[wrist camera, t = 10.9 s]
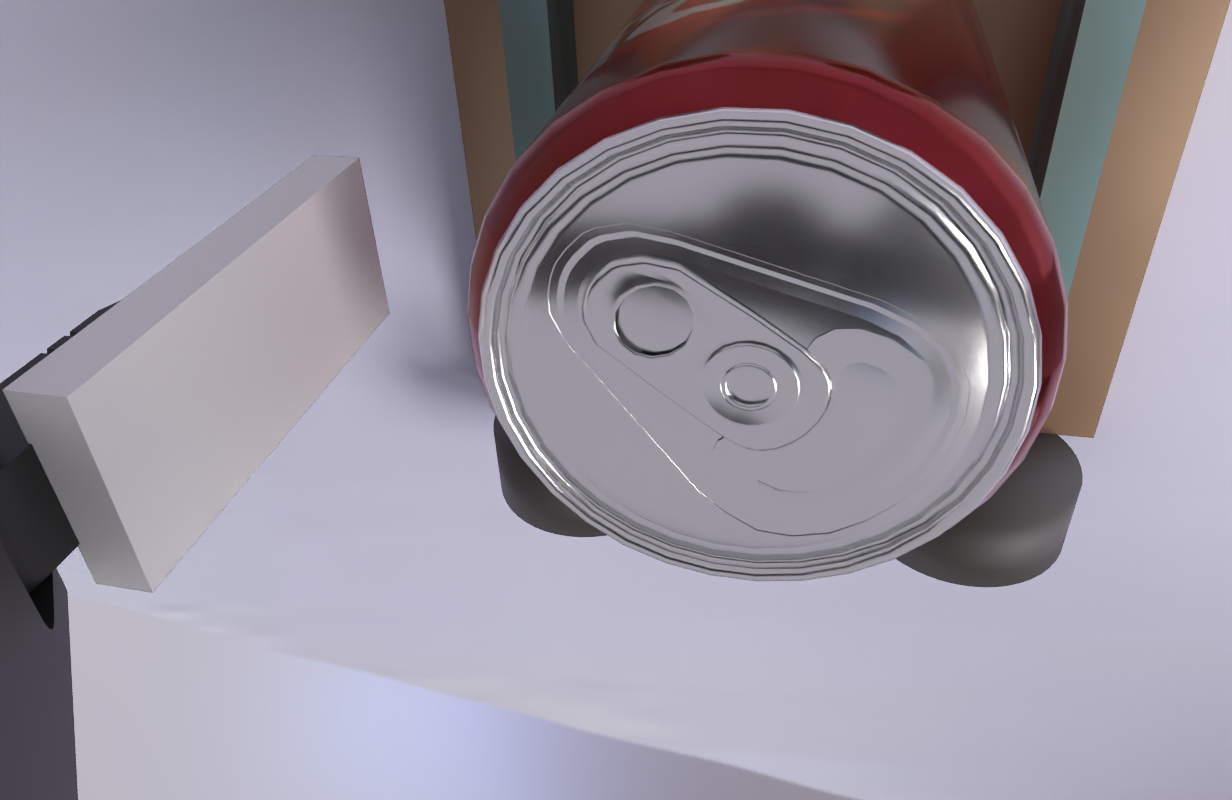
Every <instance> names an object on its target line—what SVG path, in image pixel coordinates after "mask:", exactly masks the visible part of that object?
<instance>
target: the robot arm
mask: <svg viewBox="0 0 1232 800" xmlns="http://www.w3.org/2000/svg"><path fill="white" fill-rule="evenodd" d="M388 314H389V308H388V303H387V298H386V292H385V287H384V282H383V277H382V272H381V267H380V262H379V257H378V252H377V246H376V241H375V236H374V231H373V226H372V221H371V216H370V211H369V206H368V201H367V195H366V190H365V185H364V180H363V175H362V170H361V165H360V160H359V158H357V157H338V156H318V155H314V156H313V157H311V158H310V159H309V160H307V161H306V162H305V163H303V164H302V165H301V166H299V167H298V168H297V169H295V170H294V171H293V172H291V173H290V174H289V175H287V176H286V177H285V178H283V179H282V180H281V181H279V182H278V183H277V184H275V185H274V186H273V187H271V188H270V189H269V190H267V191H266V192H265V193H263V194H262V195H261V196H259V197H258V198H257V199H255V200H254V201H253V202H251V203H250V204H249V205H247V206H246V207H245V208H243V209H242V210H241V211H239V212H238V213H237V214H235V215H234V216H233V217H231V218H230V219H229V220H227V221H226V222H225V223H223V224H222V225H221V226H219V227H218V228H217V229H215V230H214V231H213V232H212V233H210V234H209V235H208V236H206V237H205V238H204V239H202V240H201V241H200V242H198V243H197V244H196V245H194V246H193V247H192V248H190V249H189V250H188V251H186V252H185V253H184V254H182V255H181V256H180V257H178V258H177V259H176V260H174V261H173V262H172V263H170V264H169V265H168V266H166V267H165V268H164V269H162V270H161V271H160V272H158V273H157V274H156V275H154V276H153V277H152V278H150V279H149V280H148V281H146V282H145V283H144V284H142V285H141V286H140V287H138V288H137V289H136V290H134V291H133V292H132V293H130V294H129V295H128V296H126V297H125V298H124V299H122V300H121V301H118V302H116V303H114V304H112V305H110V306H107V307H105V308H103V309H101V310H99V311H97V312H96V313H95V314H93V315H92V316H91V317H89V318H88V319H86V320H85V321H84V322H82V323H81V324H80V325H78V326H77V327H76V328H74V329H73V330H72V331H70V336H64V337H62V338H61V339H60V340H58V341H57V342H56V343H54V344H53V345H51V346H50V347H49V348H47V354H44V353H41V354H39V355H38V356H37V357H35V358H34V359H33V360H31V361H30V362H29V363H27V364H26V365H25V366H23V367H22V368H21V369H19V370H18V371H17V372H15V373H14V374H12V375H11V376H10V377H8V378H7V379H6V380H4V381H3V382H2V383H0V800H78V793H77V775H76V774H77V773H76V754H75V735H74V715H73V696H72V678H71V677H72V676H71V656H70V636H69V616H68V597H67V590H66V587H65V585H64V583H63V581H62V578H61V577H60V575H59V573H58V571H57V569H56V567H57V566H58V565H59V564H60V563H61V562H62V561H63V560H64V559H65V558H66V557H67V556H68V555H69V554H70V553H71V552H72V551H73V550H74V549H75V548H76V547H77V546H78V547H79V549H80V551H81V554H82V556H83V558H84V560H85V562H86V564H87V566H88V568H89V570H90V572H91V574H92V576H93V578H94V580H95V582H96V584H102V585H108V586H115V587H121V588H127V589H133V590H139V591H145V592H152V593H153V592H154V591H155V590H156V588H157V587H158V586H159V585H160V584H161V582H162V581H163V580H164V579H165V578H166V577H167V575H168V574H169V573H170V572H171V571H172V569H173V568H174V567H175V566H176V565H177V564H178V562H179V561H180V560H181V559H182V558H183V556H184V555H185V554H186V553H187V552H188V551H189V549H190V548H191V547H192V546H193V545H194V543H195V542H196V541H197V540H198V539H199V538H200V536H201V535H202V534H203V533H204V532H205V530H206V529H207V528H208V527H209V526H210V525H211V523H212V522H213V521H214V520H215V519H216V517H217V516H218V515H219V514H220V513H221V512H222V510H223V509H224V508H225V507H226V506H227V504H228V503H229V502H230V501H231V500H232V499H233V497H234V496H235V495H236V494H237V493H238V491H239V490H240V489H241V488H242V487H243V486H244V484H245V483H246V482H247V481H248V480H249V478H250V477H251V476H252V475H253V474H254V473H255V471H256V470H257V469H258V468H259V467H260V465H261V464H262V463H263V462H264V461H265V460H266V458H267V457H268V456H269V455H270V454H271V452H272V451H273V450H274V449H275V448H276V447H277V445H278V444H279V443H280V442H281V441H282V440H283V438H284V437H285V436H286V435H287V434H288V432H289V431H290V430H291V429H292V428H293V427H294V425H295V424H296V423H297V422H298V421H299V419H300V418H301V417H302V416H303V415H304V414H305V412H306V411H307V410H308V409H309V408H310V406H311V405H312V404H313V403H314V402H315V401H316V399H317V398H318V397H319V396H320V395H321V393H322V392H323V391H324V390H325V389H326V388H327V386H328V385H329V384H330V383H331V382H332V380H333V379H334V378H335V377H336V376H337V375H338V373H339V372H340V371H341V370H342V369H343V367H344V366H345V365H346V364H347V363H348V362H349V360H350V359H351V358H352V357H353V356H354V354H355V353H356V352H357V351H358V350H359V349H360V347H361V346H362V345H363V344H364V343H365V341H366V340H367V339H368V338H369V337H370V336H371V334H372V333H373V332H374V331H375V330H376V328H377V327H378V326H379V325H380V324H381V323H382V321H383V320H384V319H385V318H386V317H387V315H388Z"/></svg>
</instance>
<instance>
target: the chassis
mask: <svg viewBox="0 0 1232 800" xmlns="http://www.w3.org/2000/svg"><path fill="white" fill-rule="evenodd" d="M643 1H644V0H444V3H445V11H446V18H447V25H448V33H449V40H450V48H451V55H452V62H453V70H454V77H455V85H456V92H457V99H458V107H459V114H460V122H461V129H462V137H463V144H464V151H465V159H466V166H467V174H468V181H469V188H470V196H471V203H472V211H473V218H474V225H475V233H476V240H477V239H478V235H479V232H480V229H481V226H482V222H483V219H484V216H485V213H486V211H487V209H488V207H489V206H490V204H491V202H492V200H493V199H494V197H495V195H496V194H497V192H498V190H499V188H500V187H501V185H502V183H503V181H504V180H505V178H506V176H507V175H508V173H509V171H510V169H511V168H512V166H513V165H514V164H515V162H516V161H517V160H518V159H519V157H520V156H521V155H522V154H523V152H524V151H525V150H526V149H527V147H528V146H529V145H530V143H531V142H532V141H533V140H534V138H535V137H536V136H537V135H538V133H539V132H540V131H541V130H542V128H543V127H544V126H545V125H546V123H547V122H548V121H549V119H550V118H551V117H552V116H553V114H554V113H555V112H556V111H557V109H558V108H559V107H560V106H561V104H562V103H563V102H564V101H565V99H566V98H567V97H568V95H569V94H570V93H571V92H572V90H573V89H574V88H575V87H576V85H577V84H578V83H579V82H580V80H581V79H582V78H583V77H584V75H585V74H586V73H587V72H588V70H589V69H590V68H591V66H592V65H593V64H594V63H595V61H596V60H597V59H598V58H599V56H600V55H601V54H602V53H603V51H604V50H605V49H606V48H607V46H608V45H609V44H610V42H611V41H612V40H613V39H614V37H615V36H616V35H617V34H618V32H619V31H620V30H621V29H622V27H623V26H624V25H625V24H626V22H627V21H628V20H629V18H630V17H631V16H632V15H633V13H634V12H635V11H636V10H637V8H638V7H639V6H640V5H641V3H642V2H643ZM973 2H974V4H975V7H976V10H977V13H978V16H979V19H980V22H981V25H982V28H983V31H984V34H985V37H986V40H987V43H988V46H989V49H990V52H991V55H992V58H993V61H994V64H995V67H996V70H997V73H998V76H999V79H1000V82H1001V85H1002V88H1003V91H1004V94H1005V97H1006V100H1007V103H1008V106H1009V109H1010V111H1011V114H1012V117H1013V120H1014V123H1015V126H1016V129H1017V132H1018V135H1019V138H1020V141H1021V144H1022V147H1023V150H1024V153H1025V156H1026V159H1027V162H1028V165H1029V168H1030V171H1031V174H1032V177H1033V180H1034V183H1035V186H1036V189H1037V192H1038V195H1039V198H1040V201H1041V204H1042V207H1043V210H1044V213H1045V216H1046V219H1047V222H1048V225H1049V228H1050V231H1051V234H1052V237H1053V240H1054V243H1055V246H1056V251H1057V255H1058V259H1059V264H1060V268H1061V272H1062V276H1063V281H1064V285H1065V289H1066V294H1067V298H1068V331H1067V357H1066V361H1065V364H1064V368H1063V372H1062V375H1061V379H1060V382H1059V386H1058V390H1057V393H1056V397H1055V401H1054V404H1053V407H1052V409H1051V411H1050V413H1049V415H1048V417H1047V419H1046V421H1045V423H1044V424H1043V426H1042V428H1041V430H1040V432H1039V433H1038V435H1037V437H1036V439H1035V441H1034V443H1033V444H1032V446H1031V448H1030V450H1029V452H1028V453H1027V455H1026V457H1025V459H1024V460H1023V461H1022V463H1021V464H1020V465H1019V466H1018V467H1017V468H1016V469H1015V471H1014V472H1013V473H1012V474H1011V475H1010V476H1009V477H1008V479H1007V480H1006V481H1005V482H1004V483H1003V484H1002V485H1001V486H1000V488H999V489H998V490H997V491H996V492H995V493H994V494H993V496H992V497H991V498H989V499H988V500H987V501H986V502H984V503H983V504H982V505H980V506H979V507H978V508H976V509H975V510H974V511H972V512H971V513H970V514H969V515H967V516H966V517H965V518H963V519H962V520H961V521H959V522H958V523H957V524H955V525H954V526H953V527H952V528H950V529H948V530H946V531H945V532H944V533H942V534H941V535H940V536H938V537H936V538H934V539H932V540H930V541H928V542H927V543H925V544H923V545H921V546H919V547H917V548H915V549H913V550H911V551H909V552H907V553H905V554H903V555H901V556H899V557H897V558H896V559H897V560H899V561H900V562H902V563H903V564H905V565H907V566H908V567H910V568H912V569H914V570H916V571H918V572H920V573H923V574H925V575H927V576H930V577H933V578H936V579H939V580H942V581H946V582H950V583H954V584H959V585H965V586H975V587H999V586H1008V585H1013V584H1017V583H1021V582H1024V581H1027V580H1030V579H1032V578H1034V577H1036V576H1038V575H1040V574H1042V573H1043V572H1044V571H1046V570H1047V569H1048V568H1050V567H1051V565H1052V564H1053V563H1054V562H1055V561H1056V559H1057V558H1058V556H1059V554H1060V552H1061V549H1062V546H1063V543H1064V540H1065V536H1066V533H1067V530H1068V527H1069V524H1070V521H1071V517H1072V514H1073V511H1074V508H1075V505H1076V502H1077V498H1078V495H1079V492H1080V489H1081V486H1082V470H1081V466H1080V464H1079V461H1078V459H1077V457H1076V455H1075V454H1074V452H1073V451H1072V449H1071V448H1070V447H1069V446H1068V444H1067V443H1066V442H1065V441H1064V440H1063V439H1062V438H1061V437H1060V436H1058V435H1068V436H1079V437H1089V438H1094V435H1095V431H1096V428H1097V425H1098V422H1099V419H1100V415H1101V412H1102V409H1103V406H1104V403H1105V399H1106V396H1107V393H1108V390H1109V387H1110V384H1111V380H1112V377H1113V374H1114V371H1115V368H1116V364H1117V361H1118V358H1119V355H1120V352H1121V348H1122V345H1123V342H1124V339H1125V336H1126V332H1127V329H1128V326H1129V323H1130V320H1131V316H1132V313H1133V310H1134V307H1135V304H1136V300H1137V297H1138V294H1139V291H1140V288H1141V285H1142V281H1143V278H1144V275H1145V272H1146V269H1147V265H1148V262H1149V259H1150V256H1151V253H1152V249H1153V246H1154V243H1155V240H1156V237H1157V233H1158V230H1159V227H1160V224H1161V221H1162V217H1163V214H1164V211H1165V208H1166V205H1167V201H1168V198H1169V195H1170V192H1171V189H1172V186H1173V182H1174V179H1175V176H1176V173H1177V170H1178V166H1179V163H1180V160H1181V157H1182V154H1183V150H1184V147H1185V144H1186V141H1187V138H1188V134H1189V131H1190V128H1191V125H1192V122H1193V118H1194V115H1195V112H1196V109H1197V106H1198V102H1199V99H1200V96H1201V93H1202V90H1203V87H1204V83H1205V80H1206V77H1207V74H1208V71H1209V67H1210V64H1211V61H1212V58H1213V55H1214V51H1215V48H1216V45H1217V42H1218V39H1219V35H1220V32H1221V29H1222V26H1223V23H1224V19H1225V16H1226V13H1227V10H1228V7H1229V3H1230V0H973ZM494 436H495V444H496V451H497V458H498V465H499V472H500V479H501V486H502V491H503V496H504V498H505V500H506V502H507V504H508V505H509V507H510V508H511V510H512V511H513V512H514V513H515V514H516V515H517V516H518V517H520V518H521V519H522V520H524V521H525V522H527V523H529V524H530V525H532V526H534V527H536V528H539V529H541V530H544V531H547V532H550V533H554V534H559V535H564V536H573V537H596V536H605V535H607V534H605V533H603V532H602V531H600V530H599V529H597V528H595V527H594V526H592V525H590V524H589V523H587V522H585V521H584V520H583V519H582V518H581V517H579V516H578V515H577V514H576V513H575V512H574V511H572V510H571V509H570V508H569V507H568V506H566V505H565V504H564V503H563V502H562V501H560V500H559V499H558V498H557V497H556V496H554V495H553V494H552V493H551V492H550V491H549V490H548V488H547V487H546V486H545V485H544V484H543V483H542V481H541V480H540V479H539V478H538V477H537V476H536V474H535V473H534V472H533V471H532V470H531V469H530V468H529V466H528V465H527V464H526V463H525V462H524V461H523V459H522V458H521V457H520V455H519V453H518V452H517V450H516V448H515V447H514V445H513V443H512V442H511V440H510V438H509V437H508V435H507V433H506V432H505V430H504V428H503V427H502V425H501V423H500V422H499V420H498V418H497V417H496V416H495V420H494Z"/></svg>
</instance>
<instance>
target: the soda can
mask: <svg viewBox="0 0 1232 800" xmlns="http://www.w3.org/2000/svg"><path fill="white" fill-rule="evenodd" d="M468 321H469V328H470V335H471V341H472V348H473V355H474V362H475V365H476V368H477V371H478V374H479V376H480V379H481V382H482V385H483V387H484V390H485V393H486V396H487V398H488V401H489V404H490V407H491V408H492V410H493V412H494V413H495V415H496V417H497V418H498V420H499V422H500V423H501V425H502V427H503V428H504V430H505V432H506V433H507V435H508V437H509V438H510V440H511V442H512V443H513V445H514V447H515V448H516V450H517V452H518V453H519V455H520V457H521V458H522V459H523V461H524V462H525V463H526V464H527V465H528V466H529V468H530V469H531V470H532V471H533V472H534V473H535V474H536V476H537V477H538V478H539V479H540V480H541V481H542V483H543V484H544V485H545V486H546V487H547V488H548V490H549V491H550V492H551V493H552V494H553V495H554V496H556V497H557V498H558V499H559V500H560V501H562V502H563V503H564V504H565V505H566V506H568V507H569V508H570V509H571V510H572V511H574V512H575V513H576V514H577V515H578V516H579V517H581V518H582V519H583V520H584V521H585V522H587V523H589V524H590V525H592V526H594V527H595V528H597V529H599V530H600V531H602V532H603V533H605V534H607V535H608V536H610V537H612V538H613V539H615V540H617V541H618V542H620V543H621V544H623V545H625V546H627V547H630V548H632V549H634V550H637V551H639V552H641V553H644V554H646V555H648V556H651V557H653V558H655V559H658V560H660V561H663V562H665V563H668V564H672V565H675V566H679V567H683V568H686V569H690V570H694V571H697V572H701V573H705V574H708V575H714V576H722V577H729V578H737V579H745V580H753V581H803V580H810V579H816V578H822V577H829V576H835V575H842V574H848V573H852V572H855V571H858V570H861V569H864V568H868V567H871V566H874V565H877V564H880V563H883V562H886V561H890V560H893V559H895V558H897V557H899V556H901V555H903V554H905V553H907V552H909V551H911V550H913V549H915V548H917V547H919V546H921V545H923V544H925V543H927V542H928V541H930V540H932V539H934V538H936V537H938V536H940V535H941V534H942V533H944V532H945V531H946V530H948V529H950V528H952V527H953V526H954V525H955V524H957V523H958V522H959V521H961V520H962V519H963V518H965V517H966V516H967V515H969V514H970V513H971V512H972V511H974V510H975V509H976V508H978V507H979V506H980V505H982V504H983V503H984V502H986V501H987V500H988V499H989V498H991V497H992V496H993V494H994V493H995V492H996V491H997V490H998V489H999V488H1000V486H1001V485H1002V484H1003V483H1004V482H1005V481H1006V480H1007V479H1008V477H1009V476H1010V475H1011V474H1012V473H1013V472H1014V471H1015V469H1016V468H1017V467H1018V466H1019V465H1020V464H1021V463H1022V461H1023V460H1024V459H1025V457H1026V455H1027V453H1028V452H1029V450H1030V448H1031V446H1032V444H1033V443H1034V441H1035V439H1036V437H1037V435H1038V433H1039V432H1040V430H1041V428H1042V426H1043V424H1044V423H1045V421H1046V419H1047V417H1048V415H1049V413H1050V411H1051V409H1052V407H1053V404H1054V401H1055V397H1056V393H1057V390H1058V386H1059V382H1060V379H1061V375H1062V372H1063V368H1064V364H1065V361H1066V357H1067V331H1068V298H1067V294H1066V289H1065V285H1064V281H1063V276H1062V272H1061V268H1060V264H1059V259H1058V255H1057V251H1056V246H1055V243H1054V240H1053V237H1052V234H1051V231H1050V228H1049V225H1048V222H1047V219H1046V216H1045V213H1044V210H1043V207H1042V204H1041V201H1040V198H1039V195H1038V192H1037V189H1036V186H1035V183H1034V180H1033V177H1032V174H1031V171H1030V168H1029V165H1028V162H1027V159H1026V156H1025V153H1024V150H1023V147H1022V144H1021V141H1020V138H1019V135H1018V132H1017V129H1016V126H1015V123H1014V120H1013V117H1012V114H1011V111H1010V109H1009V106H1008V103H1007V100H1006V97H1005V94H1004V91H1003V88H1002V85H1001V82H1000V79H999V76H998V73H997V70H996V67H995V64H994V61H993V58H992V55H991V52H990V49H989V46H988V43H987V40H986V37H985V34H984V31H983V28H982V25H981V22H980V19H979V16H978V13H977V10H976V7H975V4H974V2H973V0H644V1H643V2H642V3H641V5H640V6H639V7H638V8H637V10H636V11H635V12H634V13H633V15H632V16H631V17H630V18H629V20H628V21H627V22H626V24H625V25H624V26H623V27H622V29H621V30H620V31H619V32H618V34H617V35H616V36H615V37H614V39H613V40H612V41H611V42H610V44H609V45H608V46H607V48H606V49H605V50H604V51H603V53H602V54H601V55H600V56H599V58H598V59H597V60H596V61H595V63H594V64H593V65H592V66H591V68H590V69H589V70H588V72H587V73H586V74H585V75H584V77H583V78H582V79H581V80H580V82H579V83H578V84H577V85H576V87H575V88H574V89H573V90H572V92H571V93H570V94H569V95H568V97H567V98H566V99H565V101H564V102H563V103H562V104H561V106H560V107H559V108H558V109H557V111H556V112H555V113H554V114H553V116H552V117H551V118H550V119H549V121H548V122H547V123H546V125H545V126H544V127H543V128H542V130H541V131H540V132H539V133H538V135H537V136H536V137H535V138H534V140H533V141H532V142H531V143H530V145H529V146H528V147H527V149H526V150H525V151H524V152H523V154H522V155H521V156H520V157H519V159H518V160H517V161H516V162H515V164H514V165H513V166H512V168H511V169H510V171H509V173H508V175H507V176H506V178H505V180H504V181H503V183H502V185H501V187H500V188H499V190H498V192H497V194H496V195H495V197H494V199H493V200H492V202H491V204H490V206H489V207H488V209H487V211H486V213H485V216H484V219H483V222H482V226H481V229H480V232H479V235H478V239H477V242H476V245H475V249H474V252H473V255H472V258H471V266H470V280H469V295H468Z"/></svg>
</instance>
